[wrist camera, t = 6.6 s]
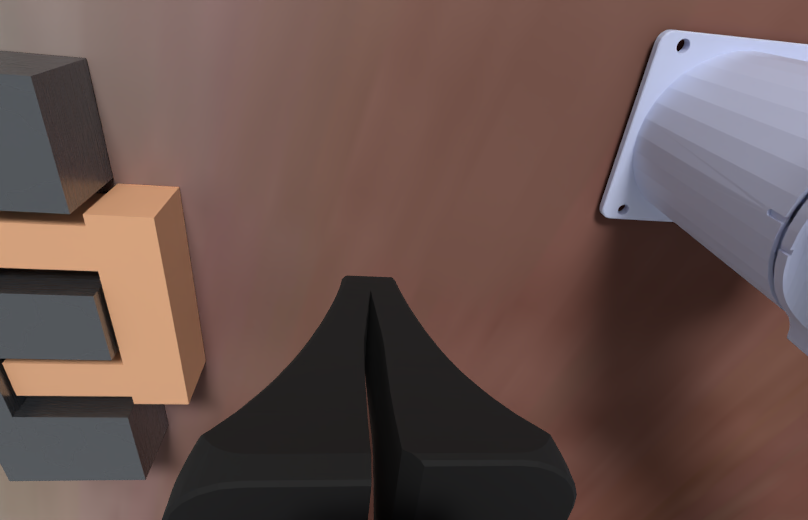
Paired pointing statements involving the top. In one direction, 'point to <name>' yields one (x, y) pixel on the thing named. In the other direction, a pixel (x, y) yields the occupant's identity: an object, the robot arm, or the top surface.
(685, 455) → the top surface
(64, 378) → the clip
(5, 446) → the grey hollow block
